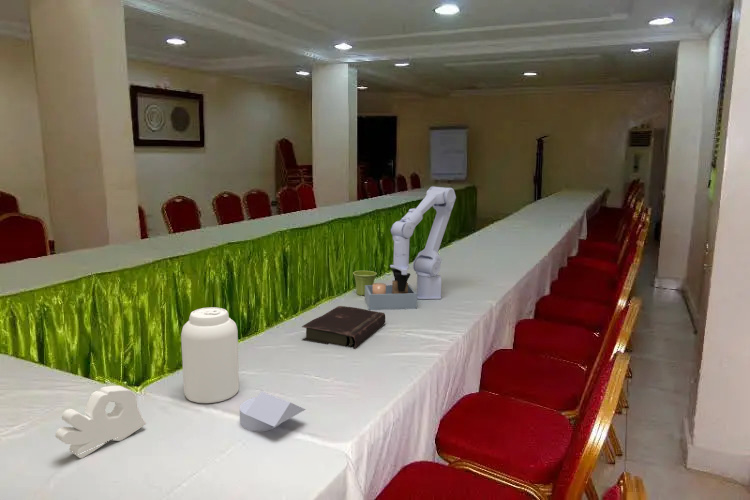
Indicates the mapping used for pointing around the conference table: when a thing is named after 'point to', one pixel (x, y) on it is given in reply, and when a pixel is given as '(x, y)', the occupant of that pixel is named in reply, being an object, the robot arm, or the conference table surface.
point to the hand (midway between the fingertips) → (400, 289)
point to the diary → (344, 326)
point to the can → (210, 356)
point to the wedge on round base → (266, 412)
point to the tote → (390, 299)
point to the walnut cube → (395, 288)
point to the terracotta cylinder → (379, 288)
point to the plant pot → (363, 280)
